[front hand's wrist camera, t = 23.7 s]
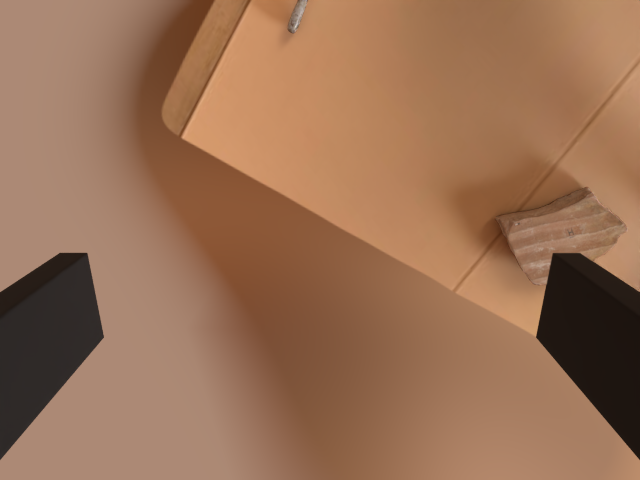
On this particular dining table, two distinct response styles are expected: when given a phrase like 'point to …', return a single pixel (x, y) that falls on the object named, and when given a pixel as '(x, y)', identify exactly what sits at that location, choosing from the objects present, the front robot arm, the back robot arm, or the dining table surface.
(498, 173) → the dining table surface
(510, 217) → the stone
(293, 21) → the putty knife
